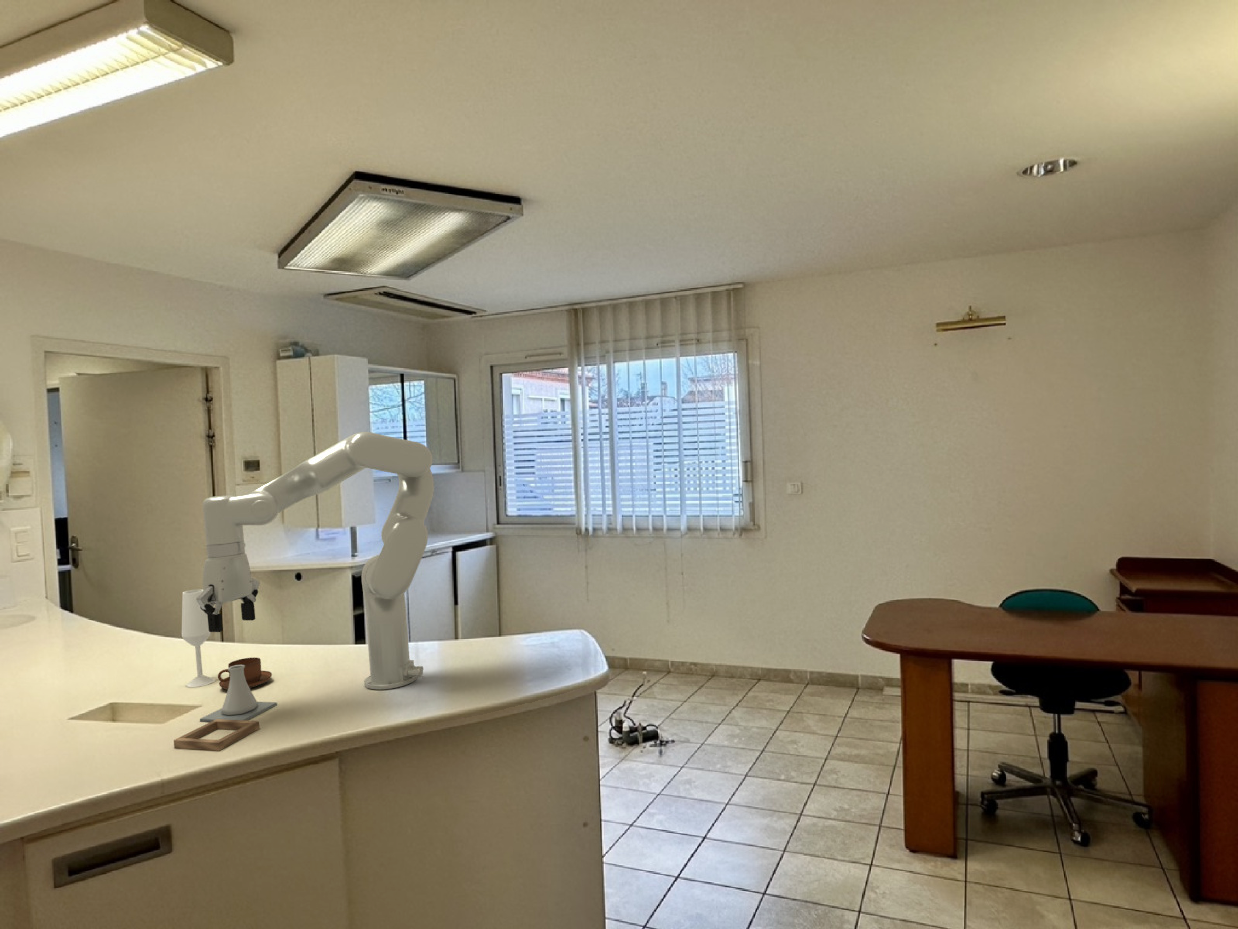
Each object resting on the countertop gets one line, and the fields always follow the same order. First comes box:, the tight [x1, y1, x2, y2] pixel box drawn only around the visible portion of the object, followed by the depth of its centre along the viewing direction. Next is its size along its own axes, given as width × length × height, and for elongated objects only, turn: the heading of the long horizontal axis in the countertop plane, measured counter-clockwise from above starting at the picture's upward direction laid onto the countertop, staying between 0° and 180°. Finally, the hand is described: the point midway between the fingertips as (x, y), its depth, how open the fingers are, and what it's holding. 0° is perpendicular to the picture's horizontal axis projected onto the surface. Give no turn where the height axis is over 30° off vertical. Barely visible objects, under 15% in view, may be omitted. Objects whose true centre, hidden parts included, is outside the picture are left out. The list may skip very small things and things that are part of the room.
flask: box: [221, 665, 258, 715], centre depth 166 cm, size 7×7×10 cm
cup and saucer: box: [217, 657, 273, 691], centre depth 186 cm, size 12×12×6 cm
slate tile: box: [199, 701, 278, 723], centre depth 166 cm, size 11×11×1 cm
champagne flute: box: [181, 589, 216, 688], centre depth 190 cm, size 7×7×24 cm
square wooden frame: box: [173, 719, 260, 752], centre depth 152 cm, size 11×11×2 cm
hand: (232, 625), depth 165 cm, fingers open, 9 cm apart
